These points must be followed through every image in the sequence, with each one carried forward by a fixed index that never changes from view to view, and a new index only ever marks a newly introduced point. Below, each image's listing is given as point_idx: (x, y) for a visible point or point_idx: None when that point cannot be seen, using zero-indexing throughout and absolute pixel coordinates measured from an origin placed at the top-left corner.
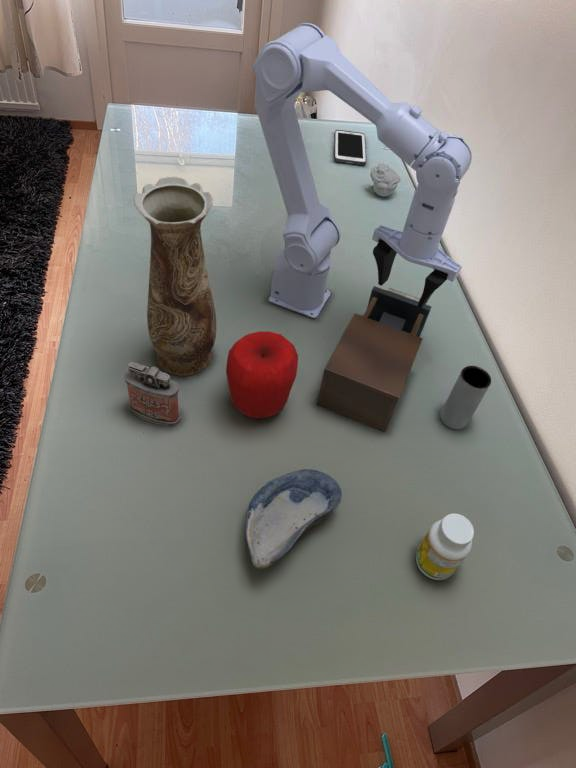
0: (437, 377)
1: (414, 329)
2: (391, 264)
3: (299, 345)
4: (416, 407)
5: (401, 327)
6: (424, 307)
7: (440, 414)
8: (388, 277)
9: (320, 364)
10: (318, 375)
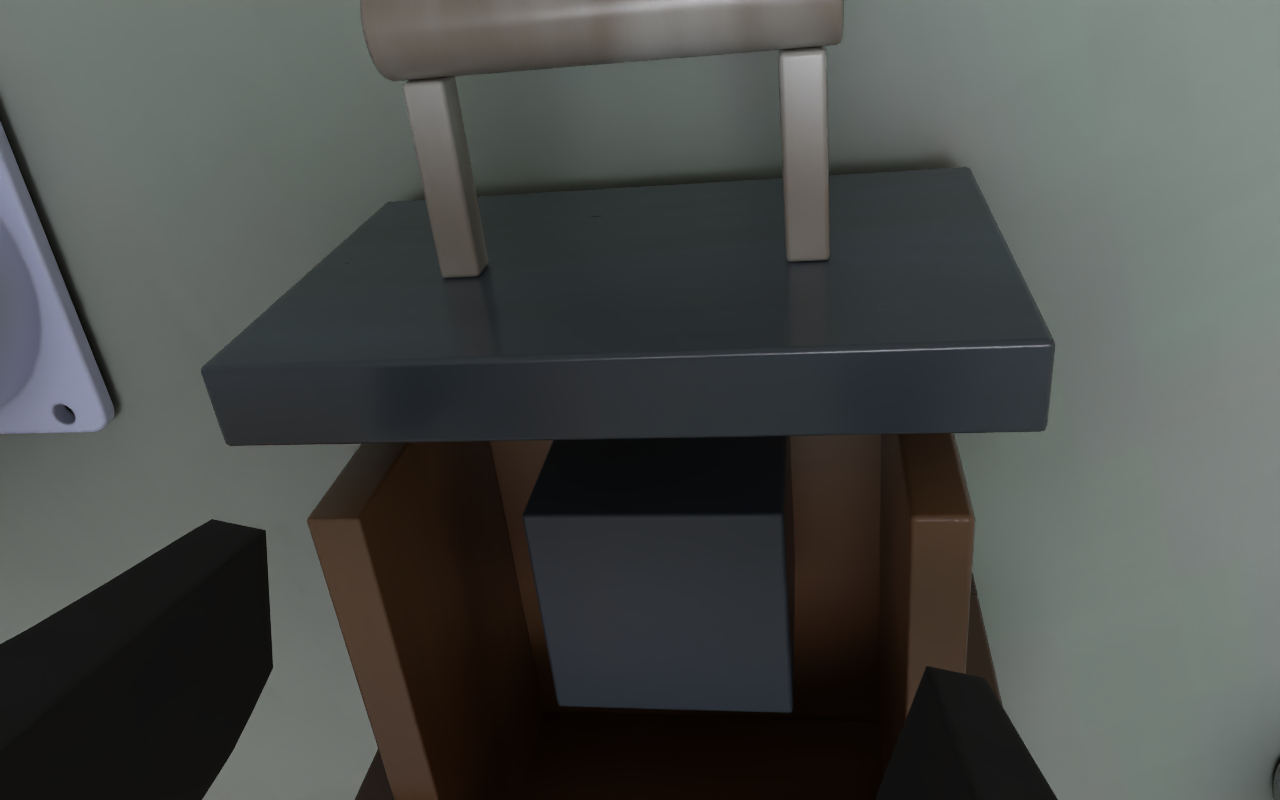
0: (1216, 507)
1: None
2: (57, 755)
3: None
4: (1092, 782)
5: (777, 630)
6: (953, 413)
7: (1274, 790)
8: (239, 558)
9: None
10: None
